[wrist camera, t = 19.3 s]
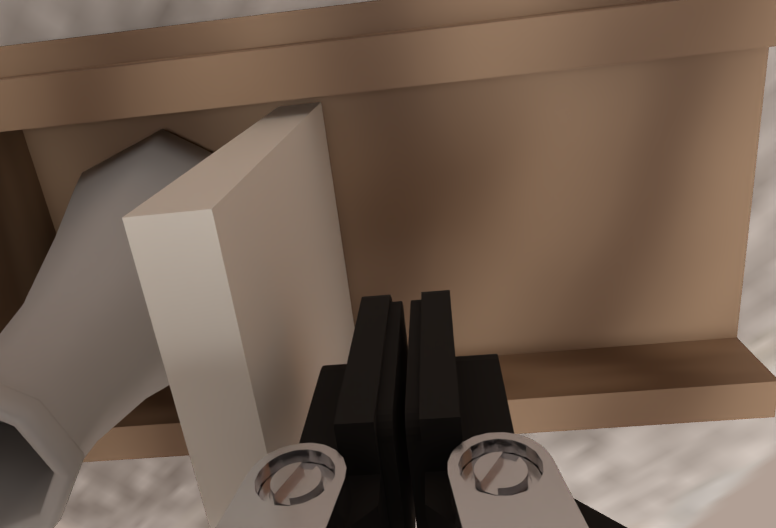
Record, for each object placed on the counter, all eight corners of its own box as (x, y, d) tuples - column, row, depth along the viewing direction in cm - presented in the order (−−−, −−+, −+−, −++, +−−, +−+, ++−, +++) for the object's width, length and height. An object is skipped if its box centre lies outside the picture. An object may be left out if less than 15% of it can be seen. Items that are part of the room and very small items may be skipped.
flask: (201, 391, 21) (37, 686, 12) (22, 249, 20) (-333, 467, 10) (347, 253, 19) (283, 483, 10) (159, 81, 17) (-131, 162, 8)
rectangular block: (322, 361, 20) (245, 653, 11) (278, 106, 17) (121, 217, 8) (359, 358, 20) (312, 650, 11) (321, 101, 17) (212, 208, 8)
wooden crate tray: (102, 418, 23) (3, 547, 18) (-23, 49, 18) (-214, 67, 13) (717, 374, 21) (823, 502, 16) (759, -46, 16) (932, -74, 11)
